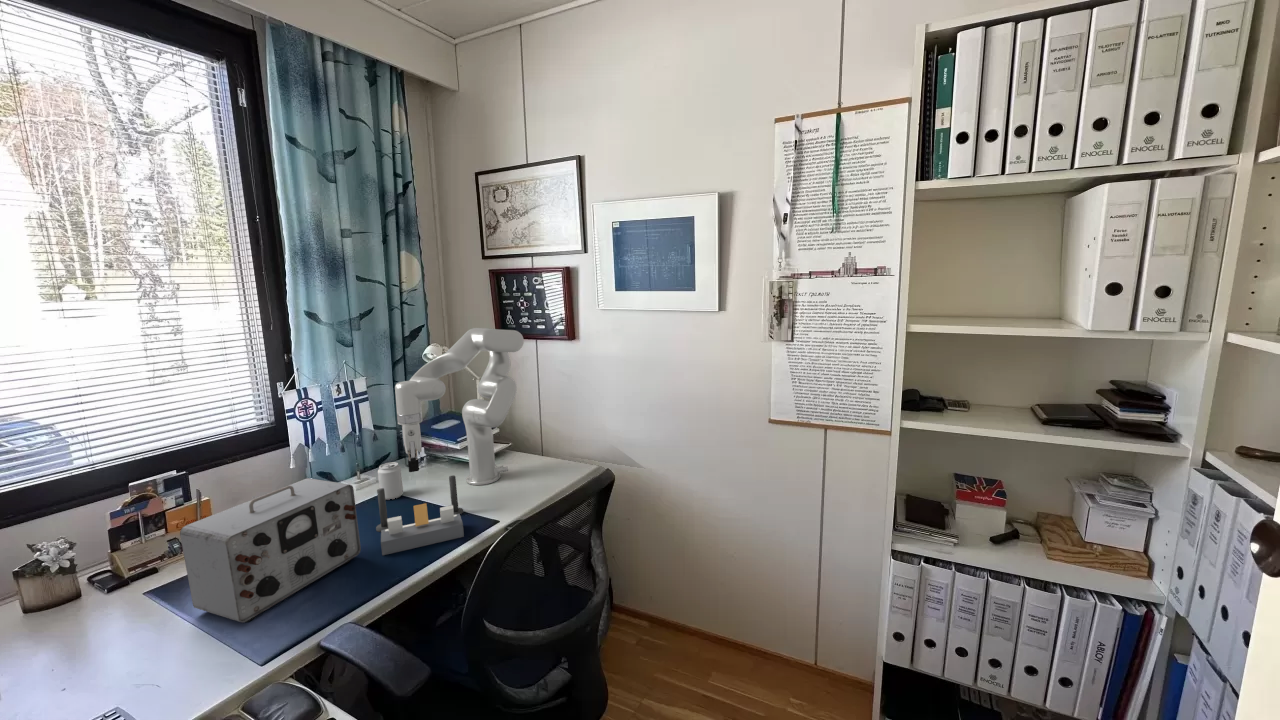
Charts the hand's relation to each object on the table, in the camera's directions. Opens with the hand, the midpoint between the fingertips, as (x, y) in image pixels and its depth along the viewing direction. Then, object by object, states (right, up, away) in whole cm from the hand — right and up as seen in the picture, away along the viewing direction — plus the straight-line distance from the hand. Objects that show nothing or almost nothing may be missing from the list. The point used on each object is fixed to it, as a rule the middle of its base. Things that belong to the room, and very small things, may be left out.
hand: (414, 470), depth 172 cm
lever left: (+6, -13, -24) cm, 28 cm away
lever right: (+18, -11, -18) cm, 28 cm away
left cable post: (-3, -15, -13) cm, 20 cm away
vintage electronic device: (-14, -20, -41) cm, 48 cm away
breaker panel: (+12, -16, -21) cm, 29 cm away
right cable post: (+15, -13, -4) cm, 21 cm away
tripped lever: (+12, -12, -21) cm, 27 cm away
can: (-13, -12, +12) cm, 21 cm away
